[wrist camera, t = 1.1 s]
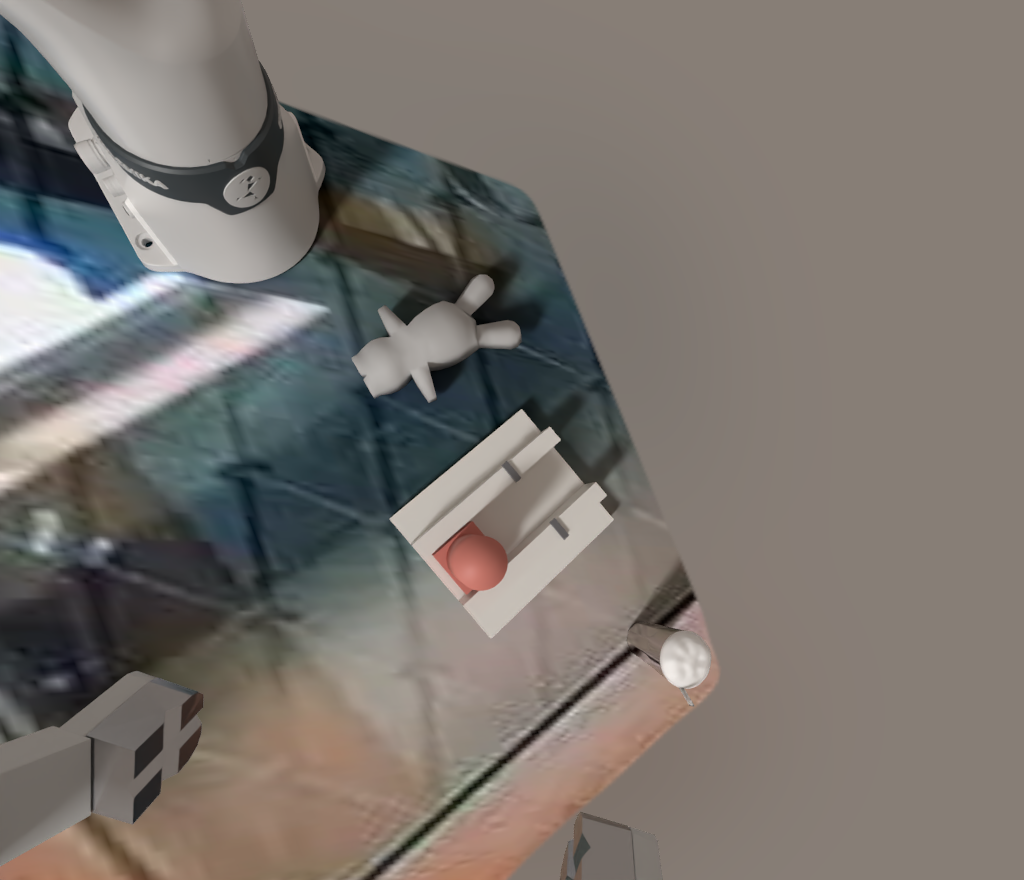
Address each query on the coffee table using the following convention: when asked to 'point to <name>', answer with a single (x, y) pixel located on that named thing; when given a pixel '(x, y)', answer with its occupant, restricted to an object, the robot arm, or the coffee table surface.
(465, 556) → the red plug
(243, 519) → the coffee table surface
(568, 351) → the coffee table surface
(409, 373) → the bunny figurine
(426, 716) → the coffee table surface
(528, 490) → the white slider track base
